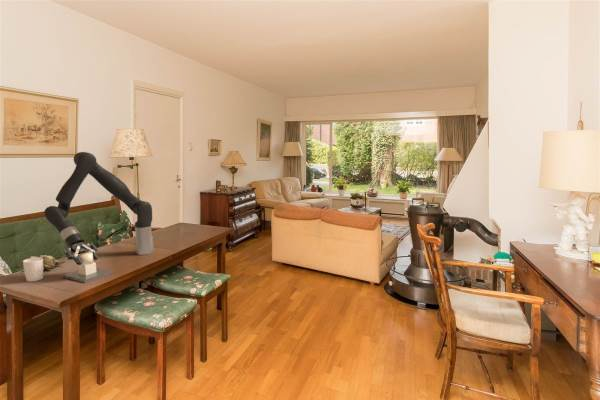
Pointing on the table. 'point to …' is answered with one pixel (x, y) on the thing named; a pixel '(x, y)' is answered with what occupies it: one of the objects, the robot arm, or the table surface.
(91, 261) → the knob
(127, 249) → the table surface
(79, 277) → the grey base with post
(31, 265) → the white cup
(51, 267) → the ceramic sculpture
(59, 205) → the robot arm
